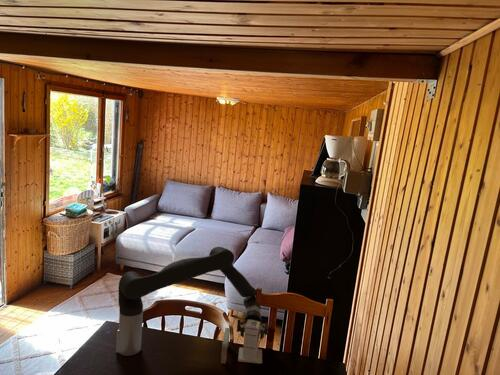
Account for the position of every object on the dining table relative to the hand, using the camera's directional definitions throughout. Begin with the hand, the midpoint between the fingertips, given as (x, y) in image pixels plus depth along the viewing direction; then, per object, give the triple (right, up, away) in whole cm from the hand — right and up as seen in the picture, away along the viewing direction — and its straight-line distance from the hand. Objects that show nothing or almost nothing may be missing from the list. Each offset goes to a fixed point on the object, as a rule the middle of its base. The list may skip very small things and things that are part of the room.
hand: (252, 336), depth 149 cm
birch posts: (-12, -9, +4) cm, 16 cm away
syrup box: (-1, -10, +4) cm, 10 cm away
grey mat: (-1, -10, +4) cm, 11 cm away
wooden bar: (-11, -3, +3) cm, 12 cm away
